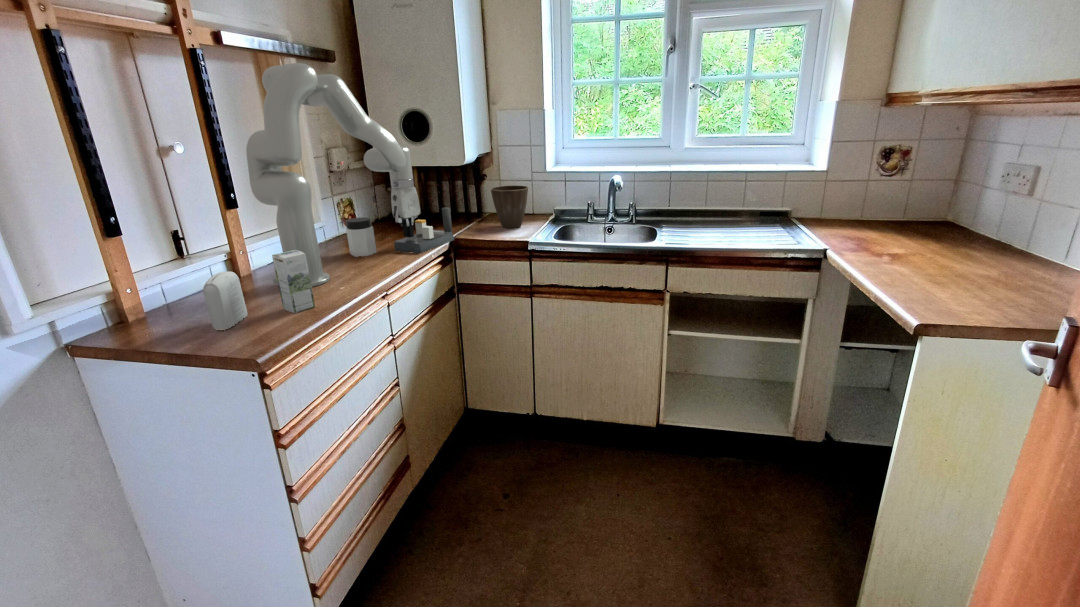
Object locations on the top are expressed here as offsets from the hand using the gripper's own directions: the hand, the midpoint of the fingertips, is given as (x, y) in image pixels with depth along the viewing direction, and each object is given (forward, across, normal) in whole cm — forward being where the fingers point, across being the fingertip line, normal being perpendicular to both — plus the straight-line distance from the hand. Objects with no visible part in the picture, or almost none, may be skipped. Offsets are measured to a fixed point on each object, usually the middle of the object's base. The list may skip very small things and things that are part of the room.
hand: (409, 236), depth 185 cm
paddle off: (0, +2, -7) cm, 7 cm away
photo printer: (+5, -72, -4) cm, 72 cm away
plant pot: (+4, +41, -20) cm, 45 cm away
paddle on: (0, +7, 0) cm, 7 cm away
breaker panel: (+4, +5, -3) cm, 7 cm away
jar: (+4, -11, +12) cm, 17 cm away
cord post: (+4, +15, -6) cm, 17 cm away
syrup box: (+5, -59, -12) cm, 60 cm away
